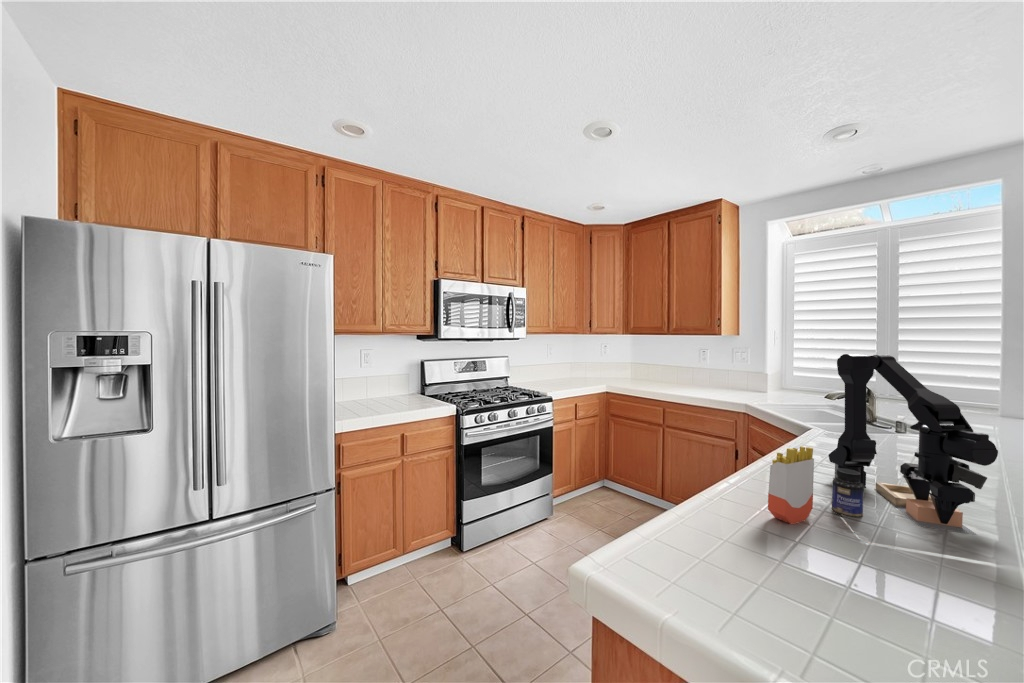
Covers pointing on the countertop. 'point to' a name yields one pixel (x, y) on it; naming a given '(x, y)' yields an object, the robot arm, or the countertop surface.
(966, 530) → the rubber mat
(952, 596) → the countertop surface
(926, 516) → the card deck block
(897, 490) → the tray
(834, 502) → the pill bottle
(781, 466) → the french fries container
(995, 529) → the countertop surface
